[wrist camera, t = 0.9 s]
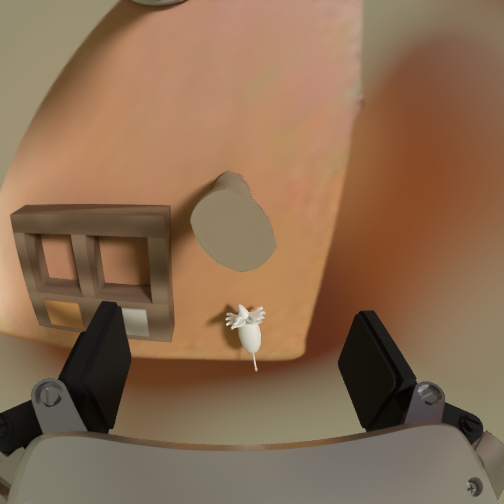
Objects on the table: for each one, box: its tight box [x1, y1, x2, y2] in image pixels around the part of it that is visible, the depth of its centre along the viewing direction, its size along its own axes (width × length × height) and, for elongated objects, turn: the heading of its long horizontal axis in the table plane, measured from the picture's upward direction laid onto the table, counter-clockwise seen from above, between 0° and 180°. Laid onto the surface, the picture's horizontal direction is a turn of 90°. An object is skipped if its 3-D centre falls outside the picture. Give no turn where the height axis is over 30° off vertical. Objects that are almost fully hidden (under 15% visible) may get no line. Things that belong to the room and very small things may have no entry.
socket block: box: [10, 204, 175, 342], centre depth 35 cm, size 18×22×4 cm
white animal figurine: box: [226, 304, 265, 371], centre depth 41 cm, size 12×5×5 cm, turn 8°
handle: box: [190, 171, 276, 272], centre depth 27 cm, size 5×6×15 cm
